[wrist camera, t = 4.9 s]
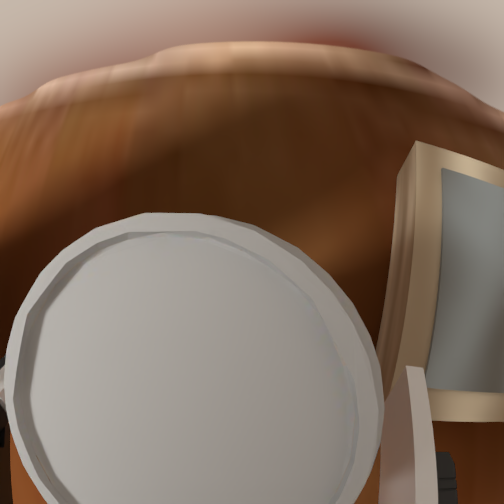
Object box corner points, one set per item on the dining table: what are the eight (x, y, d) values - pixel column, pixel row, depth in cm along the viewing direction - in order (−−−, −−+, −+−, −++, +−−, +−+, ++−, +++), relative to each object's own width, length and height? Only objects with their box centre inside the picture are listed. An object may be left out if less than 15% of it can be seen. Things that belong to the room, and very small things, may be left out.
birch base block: (363, 402, 16) (384, 416, 12) (396, 175, 19) (416, 138, 15) (536, 411, 13) (574, 416, 9) (547, 224, 17) (578, 203, 13)
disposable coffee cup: (235, 258, 19) (161, 122, 7) (362, 369, 16) (487, 392, 5) (126, 373, 17) (-41, 376, 6) (243, 486, 15) (184, 628, 3)
